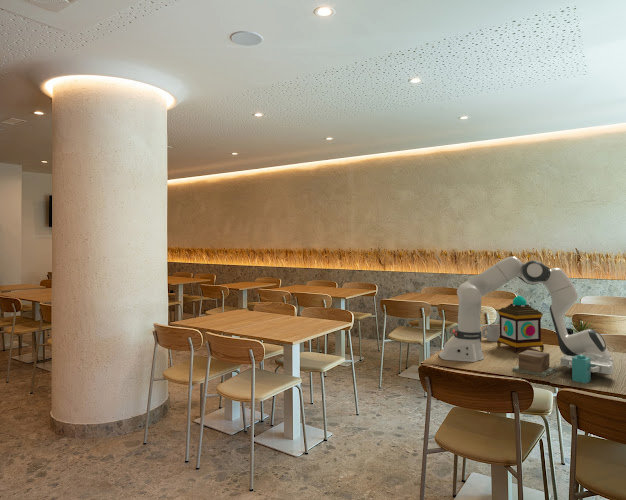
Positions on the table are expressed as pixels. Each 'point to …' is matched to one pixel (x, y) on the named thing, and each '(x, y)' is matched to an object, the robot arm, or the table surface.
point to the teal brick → (581, 369)
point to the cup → (491, 333)
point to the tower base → (534, 363)
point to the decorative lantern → (520, 325)
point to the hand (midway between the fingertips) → (580, 368)
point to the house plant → (582, 327)
